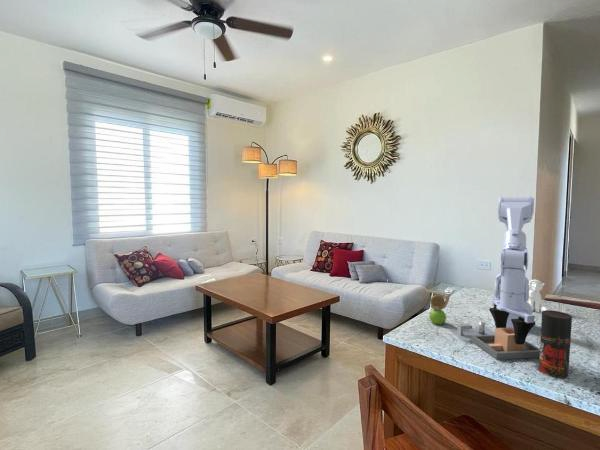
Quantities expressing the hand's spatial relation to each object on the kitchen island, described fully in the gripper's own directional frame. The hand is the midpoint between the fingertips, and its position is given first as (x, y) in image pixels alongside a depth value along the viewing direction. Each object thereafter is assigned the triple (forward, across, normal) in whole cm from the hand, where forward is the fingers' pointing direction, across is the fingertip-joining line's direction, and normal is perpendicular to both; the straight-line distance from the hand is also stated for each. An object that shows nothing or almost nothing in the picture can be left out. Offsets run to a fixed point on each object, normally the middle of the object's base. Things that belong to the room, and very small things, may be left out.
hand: (509, 338), depth 96 cm
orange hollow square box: (+3, 0, -2) cm, 4 cm away
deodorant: (+4, +12, +3) cm, 13 cm away
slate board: (+4, -11, -3) cm, 12 cm away
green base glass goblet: (+4, -21, -10) cm, 24 cm away
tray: (+4, 0, -1) cm, 4 cm away
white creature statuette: (+4, -32, +34) cm, 47 cm away
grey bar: (+3, -11, -5) cm, 12 cm away
